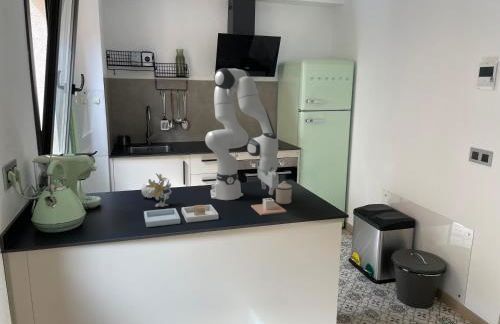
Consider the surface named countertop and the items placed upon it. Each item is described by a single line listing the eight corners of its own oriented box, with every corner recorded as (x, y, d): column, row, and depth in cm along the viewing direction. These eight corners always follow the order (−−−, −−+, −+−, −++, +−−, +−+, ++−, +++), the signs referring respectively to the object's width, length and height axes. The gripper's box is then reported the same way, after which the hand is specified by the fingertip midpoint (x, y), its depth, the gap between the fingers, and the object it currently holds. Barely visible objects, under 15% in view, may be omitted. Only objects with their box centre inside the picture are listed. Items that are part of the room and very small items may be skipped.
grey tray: (181, 213, 184) (181, 207, 183) (211, 210, 189) (210, 204, 188) (186, 223, 170) (186, 217, 170) (218, 220, 175) (218, 214, 174)
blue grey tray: (144, 217, 178) (144, 211, 177) (175, 213, 183) (175, 208, 182) (146, 228, 164) (146, 222, 164) (180, 224, 169) (180, 218, 169)
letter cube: (262, 207, 192) (262, 198, 191) (270, 206, 194) (270, 197, 193) (265, 209, 188) (266, 201, 187) (274, 208, 189) (274, 200, 188)
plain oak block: (194, 214, 181) (193, 205, 180) (203, 213, 182) (202, 204, 181) (195, 217, 177) (195, 208, 176) (205, 216, 178) (205, 207, 177)
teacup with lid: (294, 203, 201) (294, 182, 198) (278, 204, 198) (279, 184, 196) (286, 197, 212) (286, 177, 210) (271, 198, 210) (271, 178, 207)
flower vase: (143, 210, 209) (157, 211, 188) (133, 179, 207) (145, 176, 186) (164, 202, 216) (180, 202, 195) (154, 172, 214) (169, 169, 193)
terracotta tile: (251, 206, 195) (251, 205, 195) (275, 204, 200) (275, 202, 199) (260, 215, 182) (260, 213, 182) (286, 212, 187) (286, 210, 187)
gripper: (282, 170, 178) (280, 197, 181) (266, 160, 197) (265, 185, 200) (270, 171, 176) (269, 198, 179) (255, 161, 194) (254, 186, 198)
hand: (267, 191), depth 190 cm, fingers open, 8 cm apart
